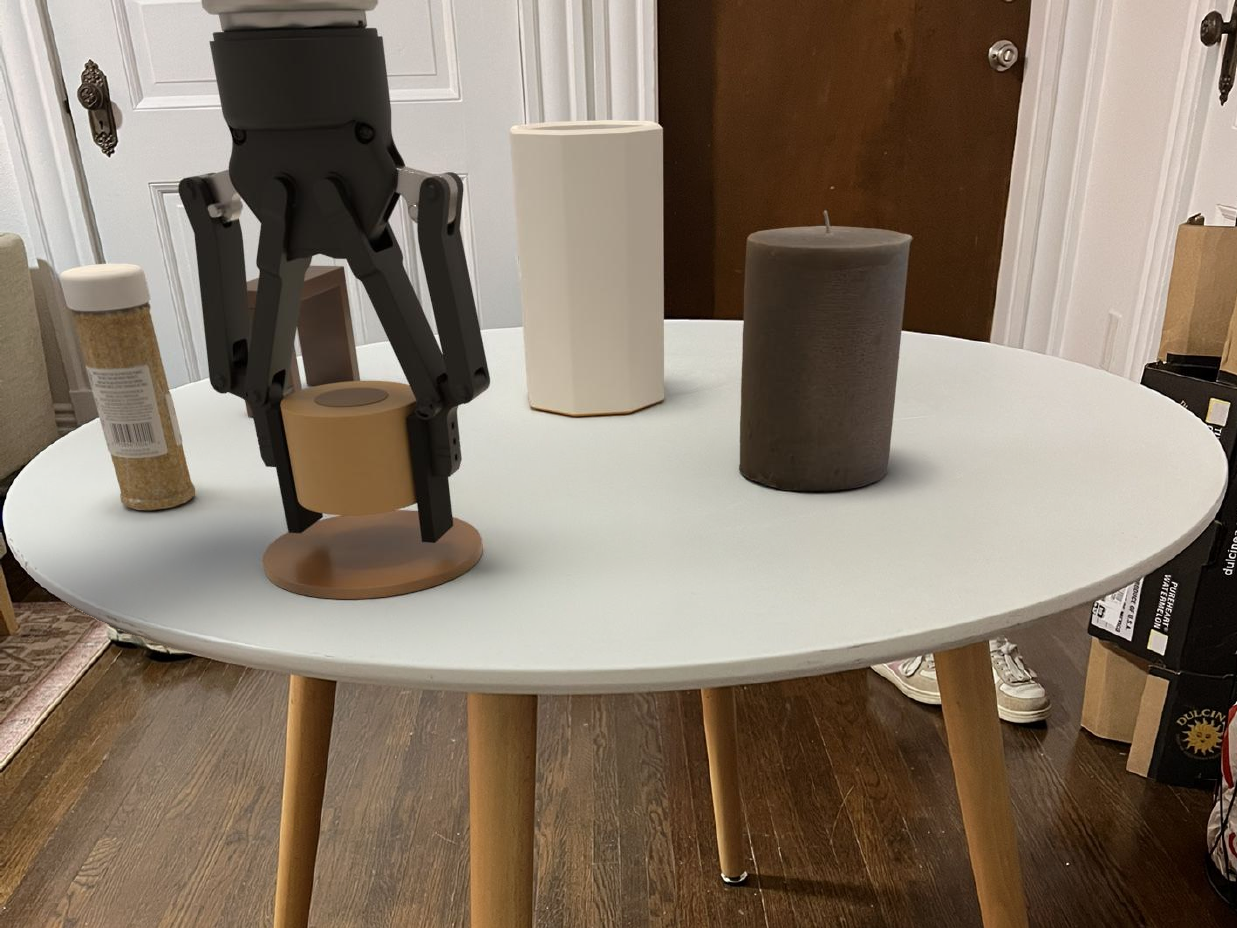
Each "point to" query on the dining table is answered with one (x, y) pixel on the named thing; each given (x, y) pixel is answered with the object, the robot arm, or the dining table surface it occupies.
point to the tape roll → (351, 446)
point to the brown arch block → (320, 329)
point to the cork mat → (369, 556)
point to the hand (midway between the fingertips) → (371, 528)
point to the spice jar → (129, 383)
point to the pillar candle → (820, 355)
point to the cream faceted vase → (591, 263)
